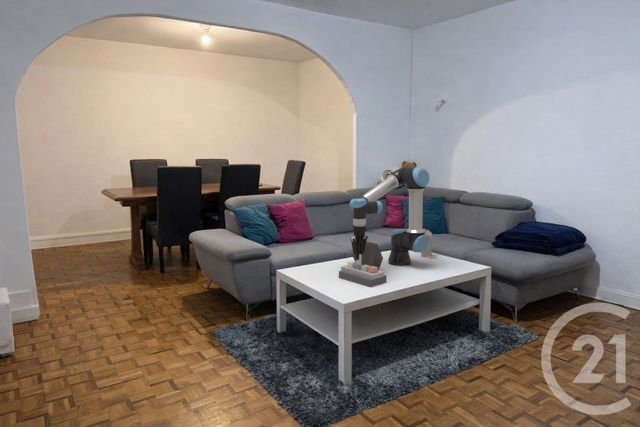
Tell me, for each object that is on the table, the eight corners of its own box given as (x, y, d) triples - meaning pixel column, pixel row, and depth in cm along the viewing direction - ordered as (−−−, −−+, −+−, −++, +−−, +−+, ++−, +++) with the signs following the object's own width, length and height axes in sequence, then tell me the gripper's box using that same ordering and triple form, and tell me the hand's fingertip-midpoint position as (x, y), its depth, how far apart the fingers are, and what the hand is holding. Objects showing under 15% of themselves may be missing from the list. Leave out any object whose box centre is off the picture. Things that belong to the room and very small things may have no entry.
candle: (435, 259, 314) (436, 231, 311) (419, 256, 324) (420, 228, 321) (441, 257, 318) (442, 230, 316) (424, 254, 329) (425, 227, 326)
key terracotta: (372, 271, 261) (372, 265, 260) (377, 272, 258) (378, 267, 257) (368, 272, 258) (368, 267, 258) (373, 273, 255) (373, 268, 255)
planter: (386, 266, 278) (373, 235, 284) (377, 268, 273) (365, 237, 279) (369, 275, 290) (358, 246, 296) (361, 278, 285) (349, 248, 291)
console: (354, 273, 279) (354, 263, 278) (386, 282, 260) (386, 271, 259) (338, 277, 269) (338, 267, 268) (370, 287, 251) (370, 275, 250)
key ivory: (352, 265, 273) (352, 260, 272) (356, 266, 270) (356, 261, 269) (347, 266, 270) (347, 261, 270) (352, 268, 267) (352, 263, 267)
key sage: (365, 269, 265) (365, 264, 264) (370, 270, 262) (370, 265, 261) (360, 270, 262) (361, 265, 262) (366, 272, 259) (366, 267, 259)
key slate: (358, 268, 269) (358, 264, 268) (363, 270, 266) (363, 265, 266) (354, 270, 266) (354, 265, 266) (359, 271, 263) (359, 266, 263)
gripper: (362, 223, 269) (361, 261, 273) (346, 225, 261) (346, 265, 264) (371, 225, 264) (370, 264, 267) (356, 227, 255) (355, 268, 258)
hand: (358, 264), depth 266 cm, fingers closed
